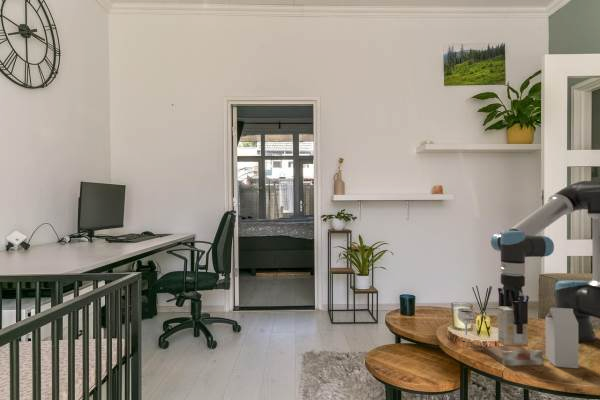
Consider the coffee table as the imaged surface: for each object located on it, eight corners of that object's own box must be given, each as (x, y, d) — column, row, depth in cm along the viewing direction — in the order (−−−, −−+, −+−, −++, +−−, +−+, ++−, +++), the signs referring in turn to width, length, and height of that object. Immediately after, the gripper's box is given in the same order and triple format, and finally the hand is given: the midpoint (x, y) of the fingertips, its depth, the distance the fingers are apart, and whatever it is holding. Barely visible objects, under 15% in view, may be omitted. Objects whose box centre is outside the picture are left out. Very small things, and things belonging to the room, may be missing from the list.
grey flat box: (518, 350, 140) (518, 338, 140) (543, 364, 128) (543, 351, 128) (483, 351, 139) (483, 339, 139) (504, 366, 126) (504, 352, 127)
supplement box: (519, 341, 136) (519, 305, 136) (528, 346, 131) (528, 309, 131) (497, 342, 135) (497, 305, 135) (505, 347, 130) (505, 309, 131)
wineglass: (453, 339, 151) (453, 309, 152) (462, 336, 156) (462, 307, 156) (470, 344, 146) (470, 313, 146) (478, 340, 150) (478, 310, 150)
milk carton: (578, 369, 125) (578, 311, 125) (554, 367, 126) (554, 310, 126) (567, 360, 132) (567, 306, 132) (545, 358, 133) (545, 305, 133)
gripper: (487, 269, 142) (487, 331, 142) (519, 279, 124) (519, 349, 124) (506, 269, 143) (506, 331, 142) (540, 278, 125) (540, 348, 125)
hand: (512, 339), depth 133 cm, fingers closed on supplement box, 5 cm apart
